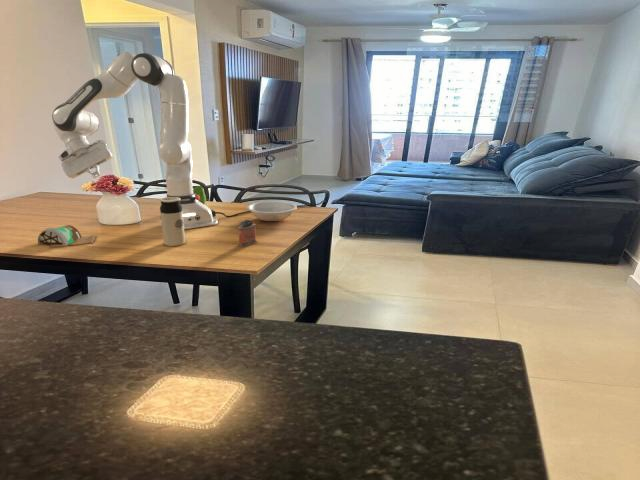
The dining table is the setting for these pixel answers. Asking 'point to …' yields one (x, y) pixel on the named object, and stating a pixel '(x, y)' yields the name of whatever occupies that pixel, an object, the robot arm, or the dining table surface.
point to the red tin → (246, 232)
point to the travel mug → (172, 221)
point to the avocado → (200, 194)
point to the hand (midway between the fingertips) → (97, 176)
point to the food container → (59, 235)
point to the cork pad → (79, 241)
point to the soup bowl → (271, 210)
